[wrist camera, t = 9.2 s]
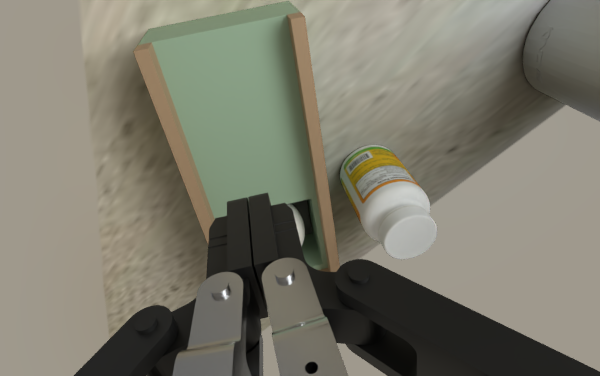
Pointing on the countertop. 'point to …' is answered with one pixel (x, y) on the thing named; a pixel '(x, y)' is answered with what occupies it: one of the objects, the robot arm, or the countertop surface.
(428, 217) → the supplement bottle
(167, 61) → the runway
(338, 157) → the countertop surface
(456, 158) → the countertop surface
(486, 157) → the countertop surface
